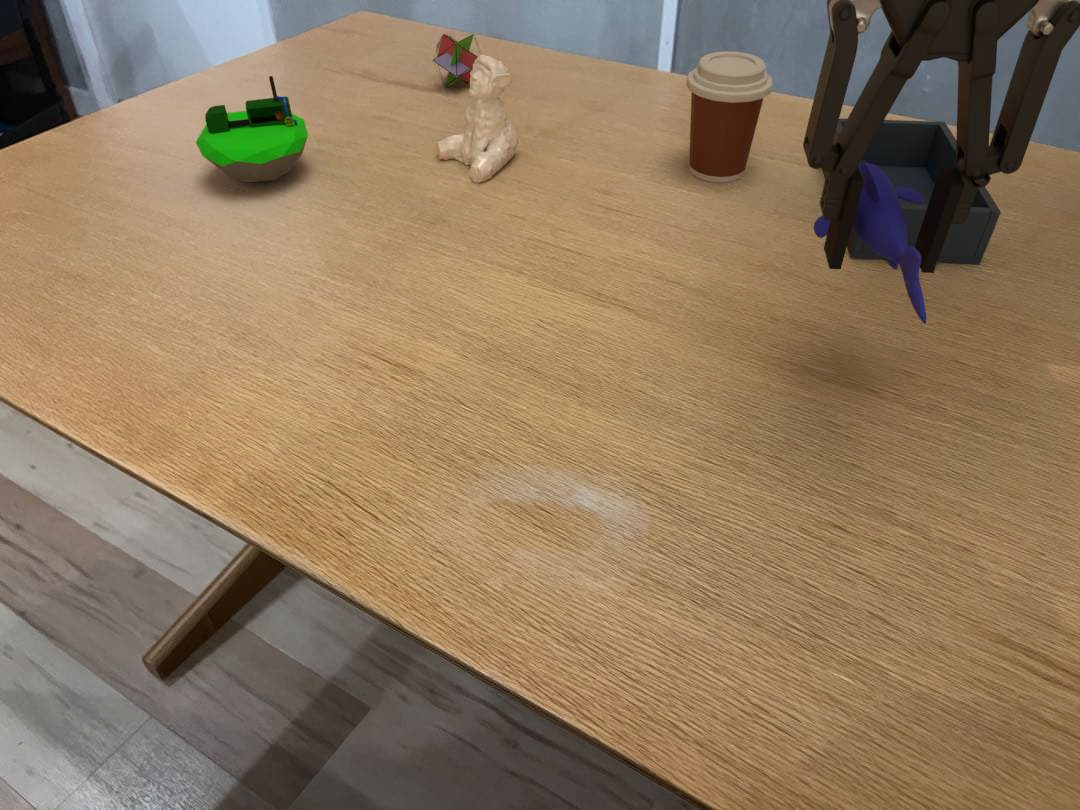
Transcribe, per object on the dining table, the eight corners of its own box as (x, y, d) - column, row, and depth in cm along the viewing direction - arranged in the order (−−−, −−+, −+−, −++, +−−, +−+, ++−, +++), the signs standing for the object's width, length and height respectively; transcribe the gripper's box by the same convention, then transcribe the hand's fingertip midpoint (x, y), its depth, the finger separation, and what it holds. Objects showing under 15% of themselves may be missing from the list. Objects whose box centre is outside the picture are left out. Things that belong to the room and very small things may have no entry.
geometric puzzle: (505, 67, 113) (473, 12, 110) (477, 84, 108) (443, 27, 106) (473, 91, 118) (442, 39, 116) (444, 107, 114) (412, 54, 111)
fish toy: (807, 226, 64) (790, 149, 59) (908, 191, 62) (899, 110, 58) (866, 346, 53) (850, 263, 48) (991, 309, 51) (987, 219, 47)
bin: (929, 169, 94) (944, 121, 90) (979, 264, 79) (1001, 212, 75) (820, 165, 95) (831, 117, 91) (850, 258, 80) (865, 206, 76)
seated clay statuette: (431, 156, 97) (421, 52, 89) (490, 137, 101) (485, 35, 93) (478, 185, 92) (471, 77, 84) (538, 163, 96) (537, 58, 88)
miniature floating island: (311, 147, 100) (291, 54, 92) (318, 191, 91) (298, 92, 84) (208, 160, 97) (180, 65, 90) (206, 206, 89) (175, 106, 82)
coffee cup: (743, 194, 90) (761, 84, 82) (664, 177, 93) (675, 69, 85) (767, 161, 96) (787, 55, 88) (693, 145, 99) (705, 42, 91)
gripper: (818, -118, 40) (746, 285, 55) (1227, -120, 38) (1034, 296, 54) (798, -146, 45) (738, 228, 61) (1155, -148, 43) (999, 237, 59)
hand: (877, 259), depth 57 cm, fingers closed on fish toy, 5 cm apart
